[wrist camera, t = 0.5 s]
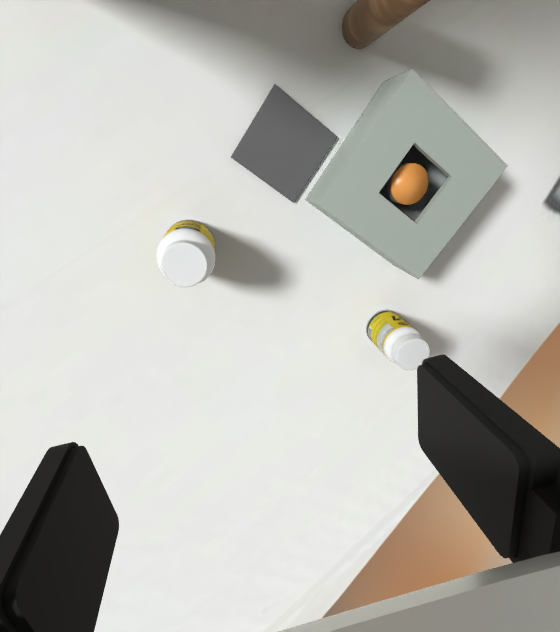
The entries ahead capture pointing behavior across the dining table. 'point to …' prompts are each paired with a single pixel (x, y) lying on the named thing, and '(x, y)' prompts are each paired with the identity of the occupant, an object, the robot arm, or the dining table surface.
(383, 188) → the orange dome button
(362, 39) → the dowel
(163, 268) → the supplement bottle
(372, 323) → the supplement bottle
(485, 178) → the grey square block
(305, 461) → the dining table surface
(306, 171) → the pad
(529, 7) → the dining table surface
